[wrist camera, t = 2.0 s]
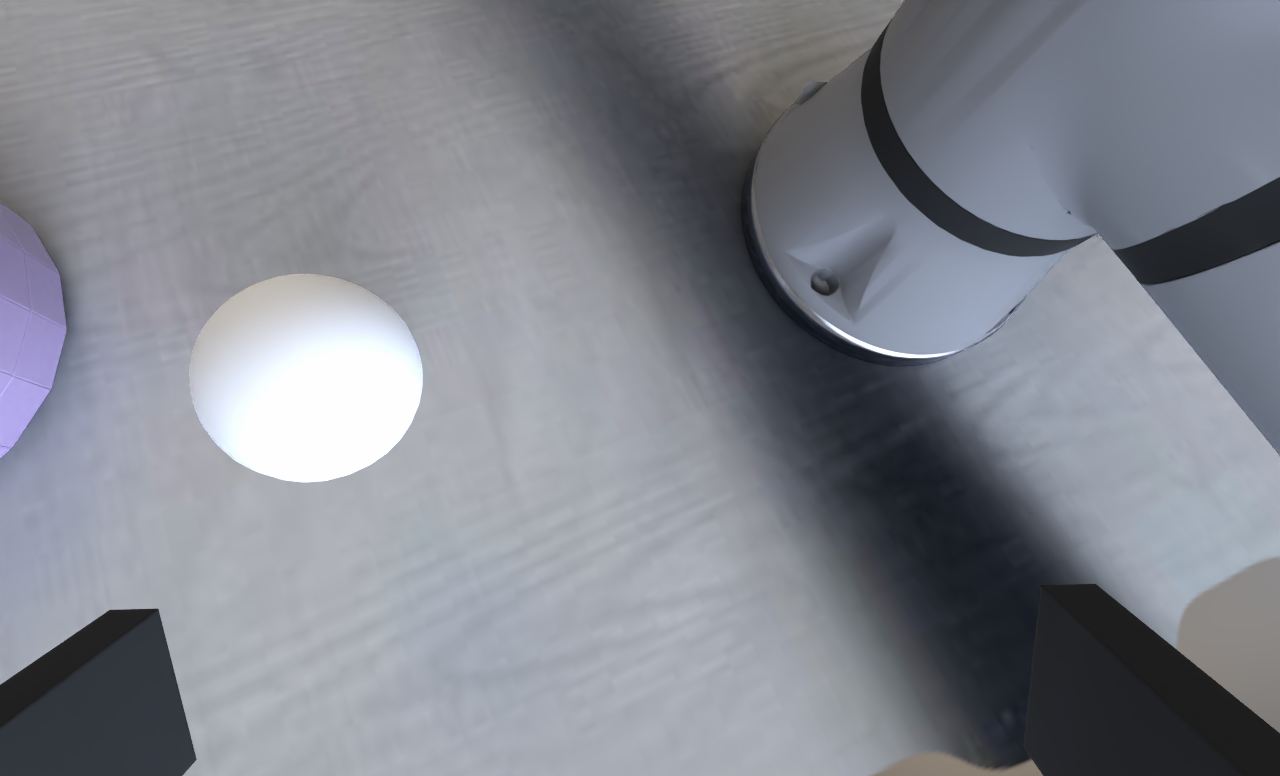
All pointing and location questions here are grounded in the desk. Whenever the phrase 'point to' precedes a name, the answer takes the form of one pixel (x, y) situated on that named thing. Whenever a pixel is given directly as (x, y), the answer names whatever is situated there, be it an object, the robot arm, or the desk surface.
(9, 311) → the bowl
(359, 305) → the lightbulb
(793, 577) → the desk surface
